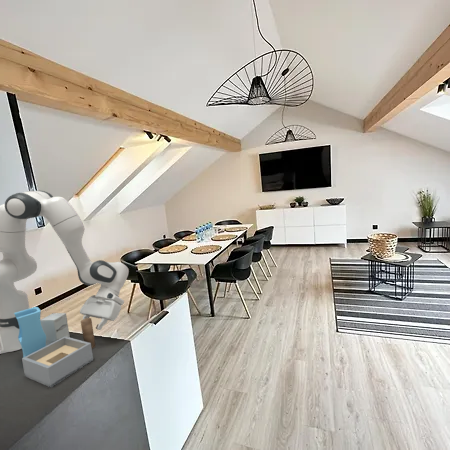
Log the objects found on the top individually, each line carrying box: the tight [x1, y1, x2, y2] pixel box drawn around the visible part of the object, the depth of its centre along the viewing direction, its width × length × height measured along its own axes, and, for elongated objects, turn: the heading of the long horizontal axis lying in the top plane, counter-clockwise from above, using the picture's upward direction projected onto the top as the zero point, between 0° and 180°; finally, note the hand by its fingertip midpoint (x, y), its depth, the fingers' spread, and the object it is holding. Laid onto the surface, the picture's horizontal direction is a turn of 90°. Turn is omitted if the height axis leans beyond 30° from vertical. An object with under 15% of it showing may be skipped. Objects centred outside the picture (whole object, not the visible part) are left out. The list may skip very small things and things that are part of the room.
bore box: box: [21, 336, 94, 389], centre depth 102 cm, size 16×16×7 cm
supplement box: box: [40, 312, 71, 346], centre depth 121 cm, size 7×7×13 cm
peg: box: [80, 317, 96, 350], centre depth 115 cm, size 4×4×12 cm
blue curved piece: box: [14, 306, 46, 358], centre depth 109 cm, size 8×8×20 cm
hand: (90, 327), depth 116 cm, fingers open, 8 cm apart
